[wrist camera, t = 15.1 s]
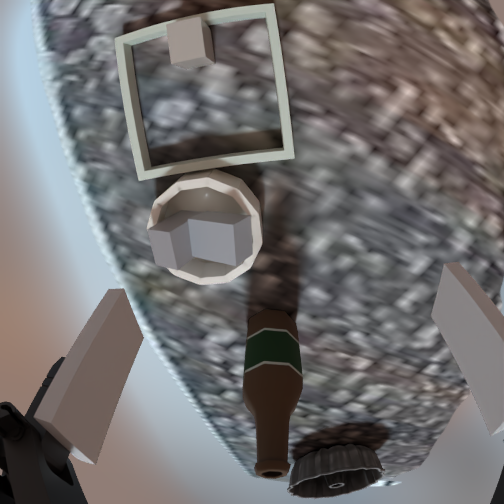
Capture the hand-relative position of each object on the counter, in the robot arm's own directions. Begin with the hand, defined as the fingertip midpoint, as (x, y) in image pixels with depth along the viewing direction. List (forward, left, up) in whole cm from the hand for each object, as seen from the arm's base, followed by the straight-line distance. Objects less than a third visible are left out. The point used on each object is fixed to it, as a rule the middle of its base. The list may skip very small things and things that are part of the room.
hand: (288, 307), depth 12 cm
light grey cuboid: (+6, -9, -23) cm, 25 cm away
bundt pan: (+77, +10, -27) cm, 82 cm away
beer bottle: (+24, -3, -26) cm, 36 cm away
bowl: (+6, -9, -26) cm, 28 cm away
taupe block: (-15, -7, -26) cm, 31 cm away
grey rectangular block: (+6, -10, -25) cm, 27 cm away
